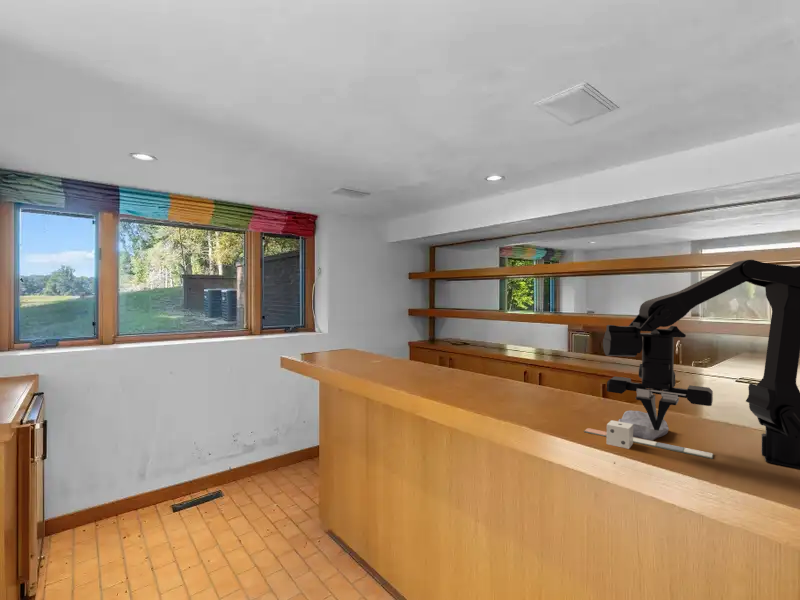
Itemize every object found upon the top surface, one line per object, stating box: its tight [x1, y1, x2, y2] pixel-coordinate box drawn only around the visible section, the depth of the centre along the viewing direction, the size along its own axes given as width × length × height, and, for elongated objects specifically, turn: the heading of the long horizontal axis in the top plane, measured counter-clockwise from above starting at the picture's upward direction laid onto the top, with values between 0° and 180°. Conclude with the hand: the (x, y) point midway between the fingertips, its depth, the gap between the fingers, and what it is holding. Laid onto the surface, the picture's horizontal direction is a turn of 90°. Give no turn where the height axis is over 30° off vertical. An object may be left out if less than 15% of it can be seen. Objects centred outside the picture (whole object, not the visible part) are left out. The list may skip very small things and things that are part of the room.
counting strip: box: [583, 427, 714, 460], centre depth 91 cm, size 25×3×1 cm, turn 50°
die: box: [605, 419, 634, 450], centre depth 90 cm, size 4×4×4 cm
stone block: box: [618, 410, 670, 441], centre depth 99 cm, size 12×5×10 cm
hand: (656, 429), depth 86 cm, fingers closed
